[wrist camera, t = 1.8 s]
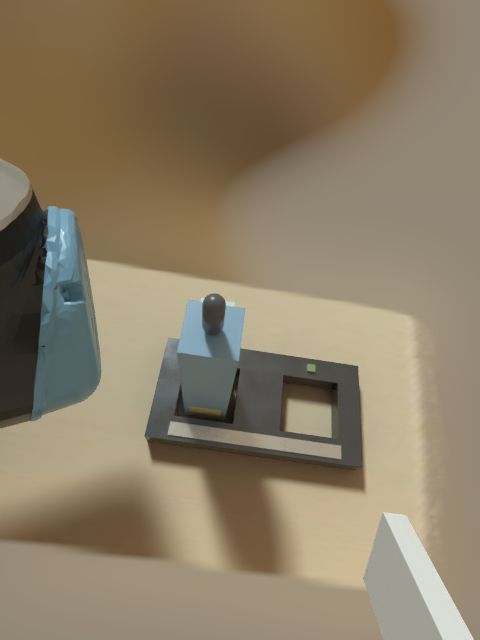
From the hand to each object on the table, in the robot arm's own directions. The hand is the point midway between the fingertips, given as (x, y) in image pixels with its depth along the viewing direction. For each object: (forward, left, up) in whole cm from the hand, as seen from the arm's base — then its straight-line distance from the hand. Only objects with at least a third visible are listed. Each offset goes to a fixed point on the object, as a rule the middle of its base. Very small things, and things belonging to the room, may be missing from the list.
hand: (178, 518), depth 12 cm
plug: (0, +11, -23) cm, 26 cm away
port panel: (+5, +11, -23) cm, 26 cm away
